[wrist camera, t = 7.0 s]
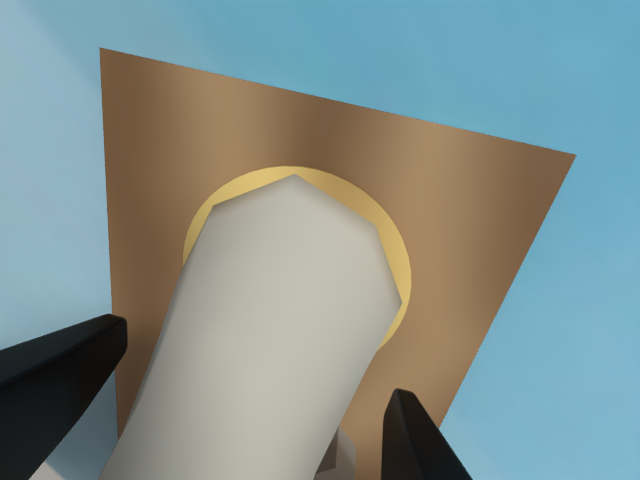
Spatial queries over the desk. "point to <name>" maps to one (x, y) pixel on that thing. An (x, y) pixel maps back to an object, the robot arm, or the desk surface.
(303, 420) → the flask
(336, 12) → the desk surface
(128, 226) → the gear board
